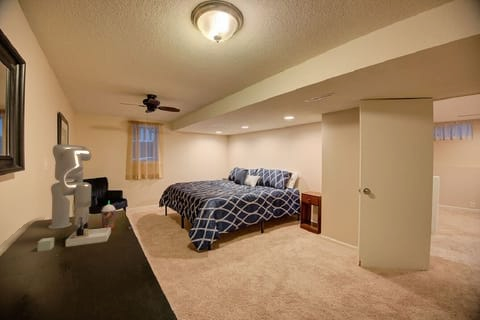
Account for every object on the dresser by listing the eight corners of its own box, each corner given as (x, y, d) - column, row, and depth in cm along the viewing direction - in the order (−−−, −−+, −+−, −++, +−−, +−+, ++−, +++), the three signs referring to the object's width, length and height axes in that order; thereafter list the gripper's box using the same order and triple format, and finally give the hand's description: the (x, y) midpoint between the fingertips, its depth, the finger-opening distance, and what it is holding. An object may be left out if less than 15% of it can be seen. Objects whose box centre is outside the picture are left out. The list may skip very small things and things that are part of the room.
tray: (74, 236, 125) (74, 231, 125) (110, 232, 133) (110, 227, 133) (65, 246, 110) (65, 240, 110) (106, 241, 118) (106, 235, 118)
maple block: (78, 237, 121) (78, 229, 121) (88, 236, 123) (88, 228, 123) (75, 240, 116) (75, 232, 117) (86, 239, 119) (86, 231, 119)
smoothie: (110, 231, 135) (110, 202, 135) (97, 231, 135) (98, 201, 135) (117, 227, 143) (118, 199, 143) (106, 227, 143) (107, 199, 143)
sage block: (42, 247, 109) (42, 238, 109) (54, 246, 111) (54, 237, 111) (37, 251, 104) (37, 242, 104) (50, 250, 106) (50, 240, 106)
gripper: (79, 202, 126) (78, 229, 126) (70, 207, 111) (69, 239, 110) (94, 201, 129) (93, 228, 129) (87, 206, 114) (86, 237, 114)
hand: (82, 233), depth 120 cm, fingers open, 8 cm apart
